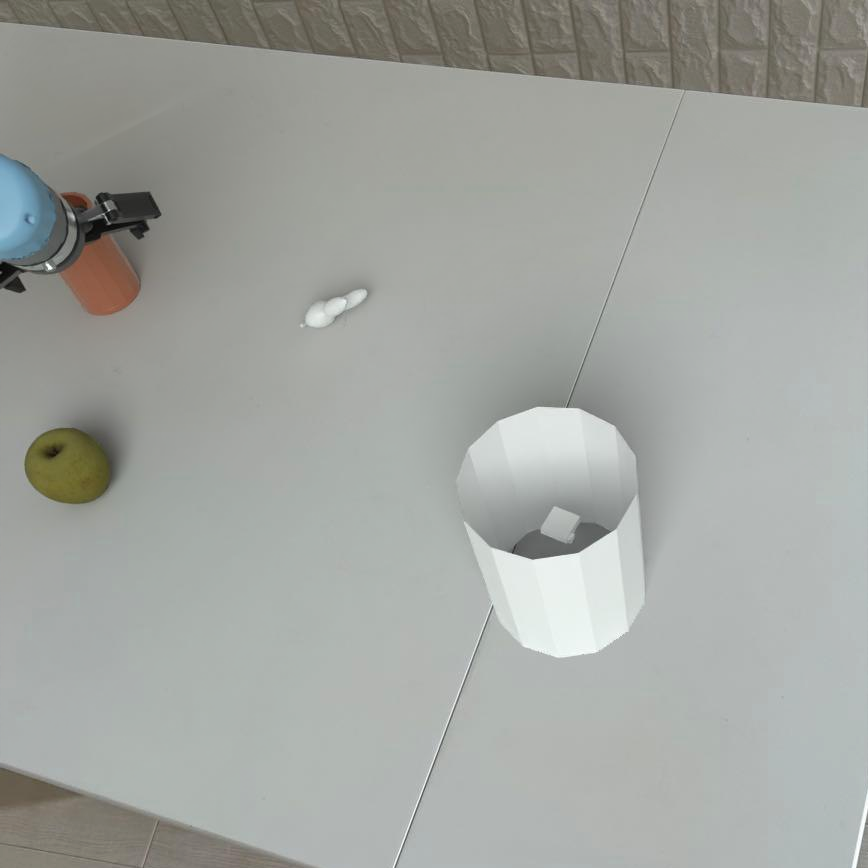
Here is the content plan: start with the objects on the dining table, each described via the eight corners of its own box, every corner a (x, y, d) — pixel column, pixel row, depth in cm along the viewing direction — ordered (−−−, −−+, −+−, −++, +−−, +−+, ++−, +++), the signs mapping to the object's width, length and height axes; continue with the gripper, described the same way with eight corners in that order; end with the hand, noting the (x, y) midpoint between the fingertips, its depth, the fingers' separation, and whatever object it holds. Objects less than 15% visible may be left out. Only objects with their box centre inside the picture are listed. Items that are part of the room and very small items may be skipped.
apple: (75, 451, 114) (40, 411, 107) (136, 466, 111) (104, 426, 105) (37, 508, 110) (-1, 470, 104) (99, 525, 108) (64, 487, 102)
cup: (72, 316, 124) (17, 240, 114) (91, 270, 128) (38, 193, 118) (130, 314, 123) (79, 238, 113) (147, 268, 127) (99, 190, 117)
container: (600, 682, 92) (582, 586, 77) (463, 619, 97) (420, 517, 82) (671, 553, 98) (667, 440, 83) (538, 499, 103) (512, 383, 88)
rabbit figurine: (310, 305, 120) (362, 275, 117) (328, 336, 121) (380, 307, 118) (284, 319, 115) (338, 288, 112) (303, 351, 116) (357, 321, 113)
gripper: (-80, 328, 91) (-15, 335, 111) (185, 209, 95) (200, 237, 115) (-130, 247, 89) (-55, 269, 110) (142, 129, 93) (166, 171, 113)
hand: (76, 253), depth 112 cm, fingers open, 13 cm apart
